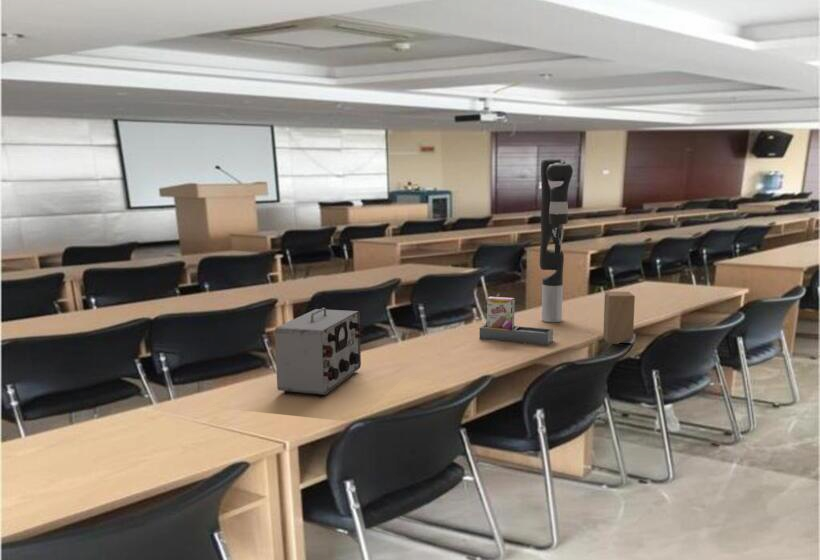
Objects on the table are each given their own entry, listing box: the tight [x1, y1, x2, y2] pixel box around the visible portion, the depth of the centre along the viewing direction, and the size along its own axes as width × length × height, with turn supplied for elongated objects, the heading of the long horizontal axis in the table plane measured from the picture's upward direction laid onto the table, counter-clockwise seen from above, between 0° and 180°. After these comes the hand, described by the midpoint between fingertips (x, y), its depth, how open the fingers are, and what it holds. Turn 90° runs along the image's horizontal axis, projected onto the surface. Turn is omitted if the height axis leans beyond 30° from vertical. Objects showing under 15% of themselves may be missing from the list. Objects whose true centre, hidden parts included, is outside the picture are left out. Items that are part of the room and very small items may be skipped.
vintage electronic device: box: [274, 307, 364, 398], centre depth 222 cm, size 32×18×25 cm, turn 163°
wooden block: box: [602, 291, 636, 345], centre depth 272 cm, size 10×10×20 cm
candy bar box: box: [485, 296, 516, 330], centre depth 279 cm, size 11×5×16 cm, turn 69°
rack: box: [479, 323, 554, 347], centre depth 277 cm, size 8×29×5 cm, turn 65°
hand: (557, 253), depth 281 cm, fingers closed
